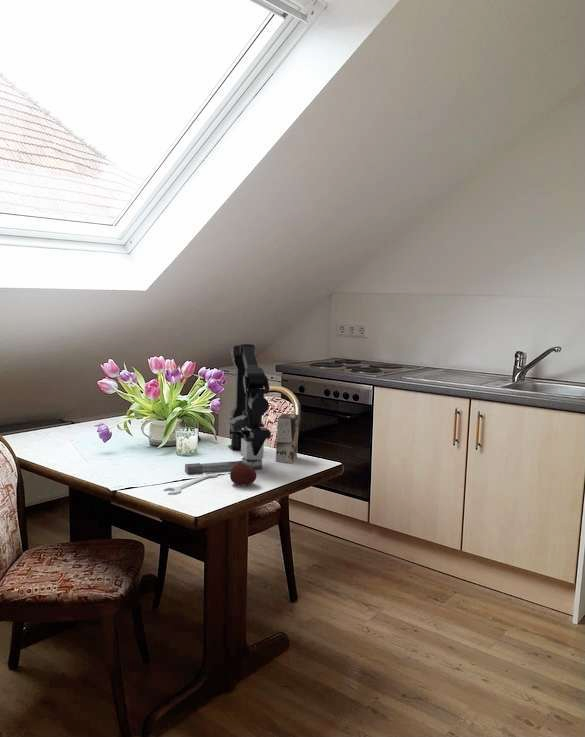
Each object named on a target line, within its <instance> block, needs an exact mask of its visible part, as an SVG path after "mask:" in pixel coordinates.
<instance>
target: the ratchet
mask: <svg viewBox="0 0 585 737" xmlns="http://www.w3.org/2000/svg"><path fill="white" fill-rule="evenodd" d="M238 463H245V464H247V465H249V466H251V467H252V468H253V469H254V470H255V471H260V470H262V468H263V458H260V459H245V458H244V457H242V458H241V460H235V461H222V462H221V461H220V462H208V463H200V462H199V463H198V462H197V463H185V464H184V471H185V473H186V475H194V474H196V473H197V474H203V473H217V472H220V473H221V472H231V469H232V468H233V466H234V465H236V464H238Z"/></svg>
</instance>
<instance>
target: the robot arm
mask: <svg viewBox="0 0 585 737" xmlns="http://www.w3.org/2000/svg"><path fill="white" fill-rule="evenodd" d="M230 349H231V350H230V357H231V358H232V359H231V360H232V361H231V362H232V363H233V365H234V367H235V369H236V371H235V372H236V373H235V396H234V397H235V399H234V400H235V403H234V407H233V409H232V410H231V412H230V417H229V418H228V421H227V425H226V426H227V429H226V431H227V432H228V434H229V435H230V434H231V440H230V441H231V442H230V444H228V445H227V446H228V447H229V449H231V450H232V451H241V438H250V439H251V440H252V444H253V453H254V456H256V455H257V454H258V452H259V451H260V449H261V447H262V445H263V443H264V444H265V441H266V440H267V439H271V437H272V432H271V431H270V430H269V429H268V428H266V427H264V423H263V422H262V421H263V416H265V414H266V413H267V412H268V410H269V407H270V404H269V401H268V400H267V399H266V398H265V395H266V394H267V395H268V394H269V391H270V384H269V379H268V376H267V375H266V374H265V371H264V369H262V368H261V367H260V366H259V364H258V360H257V356H256V355H257V354H256V353H257V352H256V350H257V349H256V346H255V344H253V343H240V344H238V345H237V344H236V345H234V346H232V347H231V348H230Z"/></svg>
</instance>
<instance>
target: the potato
mask: <svg viewBox="0 0 585 737" xmlns="http://www.w3.org/2000/svg"><path fill="white" fill-rule="evenodd" d="M256 471H257V470H254V469H253V468H252V467H251V466H249V465H247V464H245V463H238V464H236V465H234V466H233V468H232V469H231V471H229V472H230V473H229V478H230V481H231V482H232V483H233V484H235V485H240V486H246V485H247V486H248V485H251V484H253V483H254V482H255V481H256V479H257V472H256Z"/></svg>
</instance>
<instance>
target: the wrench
mask: <svg viewBox="0 0 585 737" xmlns="http://www.w3.org/2000/svg"><path fill="white" fill-rule="evenodd" d="M207 478H209V479H213V478H218V473H216V472H207V473H202V475H201V476H199V477H197V478H194V479H192V480H190V481H187V482H185V483H184V484H181V485H178V486H176V487H174V486H172V487H166V488H164V489H163V491H164V492H166V491H167V494H168V495H178V494H180V493H181V492H182V490H183V489H186V488H189V487H190V486H192V485H195V484H196V483H200V482H202V481H203V480H206V479H207ZM168 491H169V492H168Z"/></svg>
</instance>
